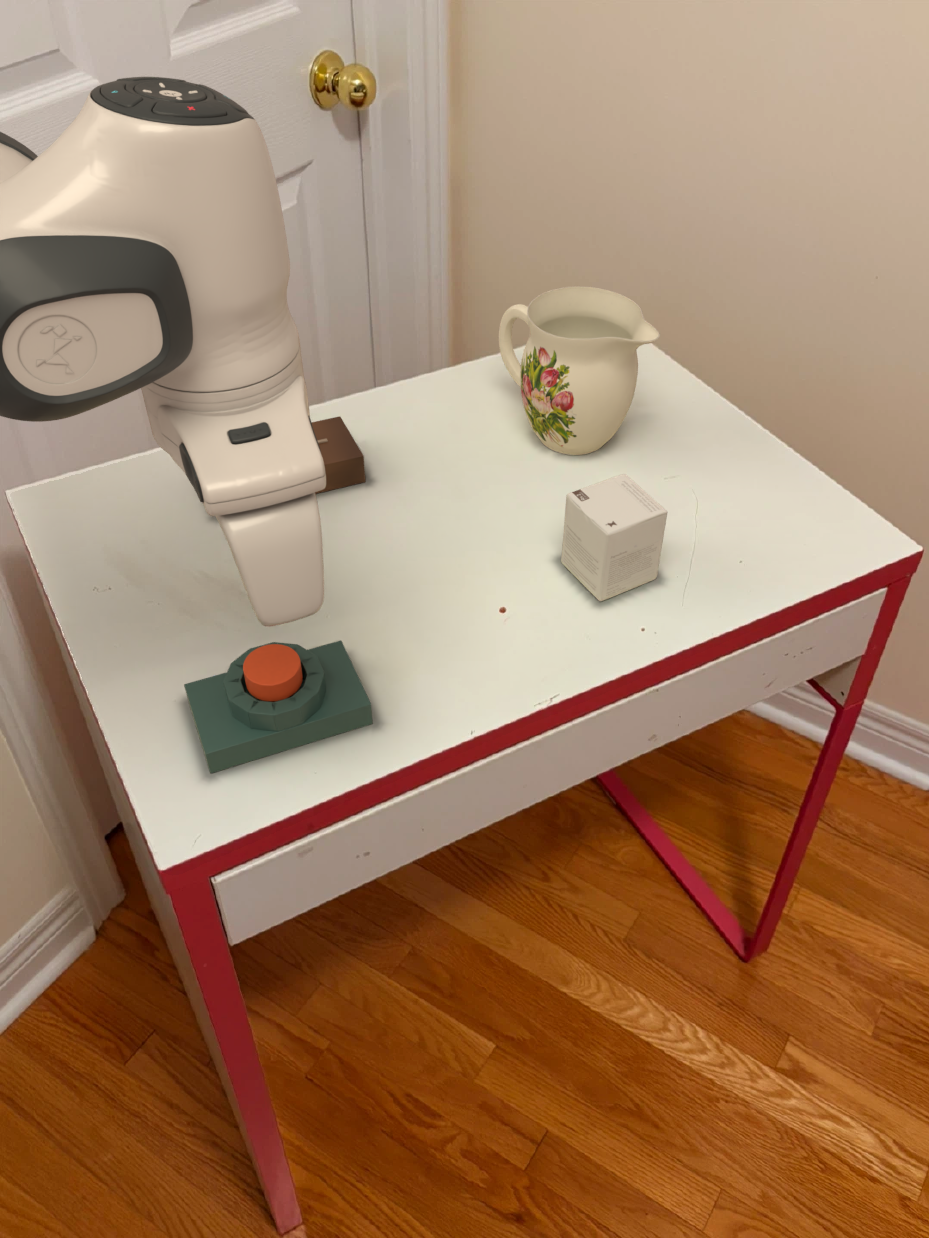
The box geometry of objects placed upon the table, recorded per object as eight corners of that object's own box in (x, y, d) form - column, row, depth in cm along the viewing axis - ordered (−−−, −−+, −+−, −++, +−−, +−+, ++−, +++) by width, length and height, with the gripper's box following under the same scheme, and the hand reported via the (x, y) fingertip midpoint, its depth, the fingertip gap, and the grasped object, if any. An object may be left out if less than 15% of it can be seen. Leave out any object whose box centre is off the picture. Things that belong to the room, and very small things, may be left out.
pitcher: (534, 376, 111) (542, 252, 102) (671, 446, 102) (694, 317, 93) (461, 417, 106) (462, 289, 96) (600, 494, 97) (616, 362, 87)
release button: (254, 708, 73) (250, 691, 72) (240, 669, 76) (236, 652, 74) (309, 692, 74) (307, 675, 73) (293, 654, 77) (291, 637, 75)
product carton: (657, 580, 88) (671, 511, 83) (598, 604, 86) (608, 534, 81) (615, 539, 92) (625, 471, 87) (557, 561, 90) (564, 492, 85)
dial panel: (219, 524, 93) (214, 496, 91) (197, 467, 99) (191, 439, 97) (369, 488, 97) (367, 460, 95) (339, 436, 103) (336, 408, 101)
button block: (210, 773, 73) (200, 737, 70) (189, 703, 78) (179, 667, 75) (372, 724, 77) (370, 687, 74) (343, 659, 81) (339, 623, 78)
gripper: (136, 321, 64) (179, 500, 74) (211, 513, 51) (252, 701, 61) (237, 302, 66) (266, 479, 76) (335, 482, 53) (356, 670, 62)
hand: (260, 579), depth 68 cm, fingers closed
